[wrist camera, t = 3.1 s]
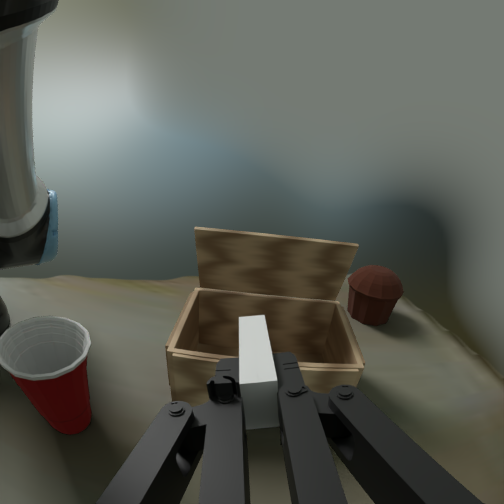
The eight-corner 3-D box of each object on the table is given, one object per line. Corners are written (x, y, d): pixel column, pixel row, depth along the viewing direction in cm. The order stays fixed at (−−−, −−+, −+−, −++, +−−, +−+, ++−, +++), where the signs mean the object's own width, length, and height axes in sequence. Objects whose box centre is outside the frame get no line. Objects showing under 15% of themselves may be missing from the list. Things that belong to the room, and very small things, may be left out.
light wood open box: (169, 413, 31) (161, 352, 28) (192, 344, 45) (192, 287, 41) (343, 428, 31) (370, 370, 27) (327, 356, 44) (342, 302, 41)
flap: (200, 287, 41) (194, 229, 33) (200, 284, 41) (195, 226, 34) (335, 300, 41) (358, 246, 33) (334, 298, 41) (358, 243, 33)
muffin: (382, 301, 63) (393, 260, 60) (402, 328, 53) (418, 282, 49) (334, 300, 62) (343, 256, 59) (349, 329, 52) (363, 280, 48)
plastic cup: (130, 412, 30) (111, 335, 26) (73, 467, 21) (28, 395, 16) (73, 374, 34) (51, 300, 29) (19, 415, 24) (-19, 339, 20)
